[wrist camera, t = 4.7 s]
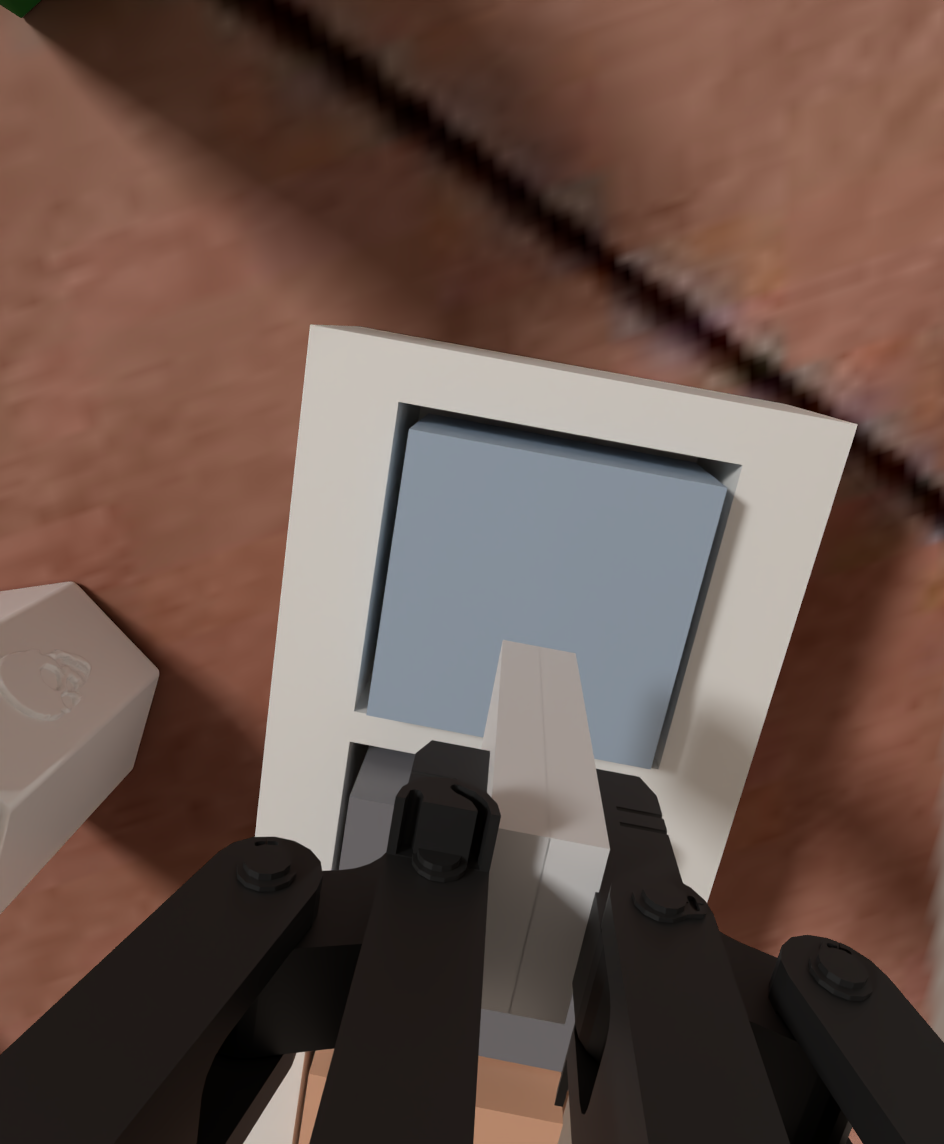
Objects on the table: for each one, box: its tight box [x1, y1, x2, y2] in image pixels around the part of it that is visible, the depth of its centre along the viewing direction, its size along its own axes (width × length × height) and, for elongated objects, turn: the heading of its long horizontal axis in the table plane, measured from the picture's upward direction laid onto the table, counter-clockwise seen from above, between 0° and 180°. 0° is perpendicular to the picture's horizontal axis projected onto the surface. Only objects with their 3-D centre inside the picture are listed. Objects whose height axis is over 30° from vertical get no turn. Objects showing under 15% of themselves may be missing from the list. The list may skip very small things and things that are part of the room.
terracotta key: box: [299, 1049, 563, 1144], centre depth 28 cm, size 8×8×4 cm
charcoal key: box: [339, 745, 575, 1072], centre depth 25 cm, size 8×8×4 cm
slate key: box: [366, 413, 727, 769], centre depth 23 cm, size 8×8×4 cm
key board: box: [243, 325, 857, 1144], centre depth 28 cm, size 32×14×6 cm, turn 170°
